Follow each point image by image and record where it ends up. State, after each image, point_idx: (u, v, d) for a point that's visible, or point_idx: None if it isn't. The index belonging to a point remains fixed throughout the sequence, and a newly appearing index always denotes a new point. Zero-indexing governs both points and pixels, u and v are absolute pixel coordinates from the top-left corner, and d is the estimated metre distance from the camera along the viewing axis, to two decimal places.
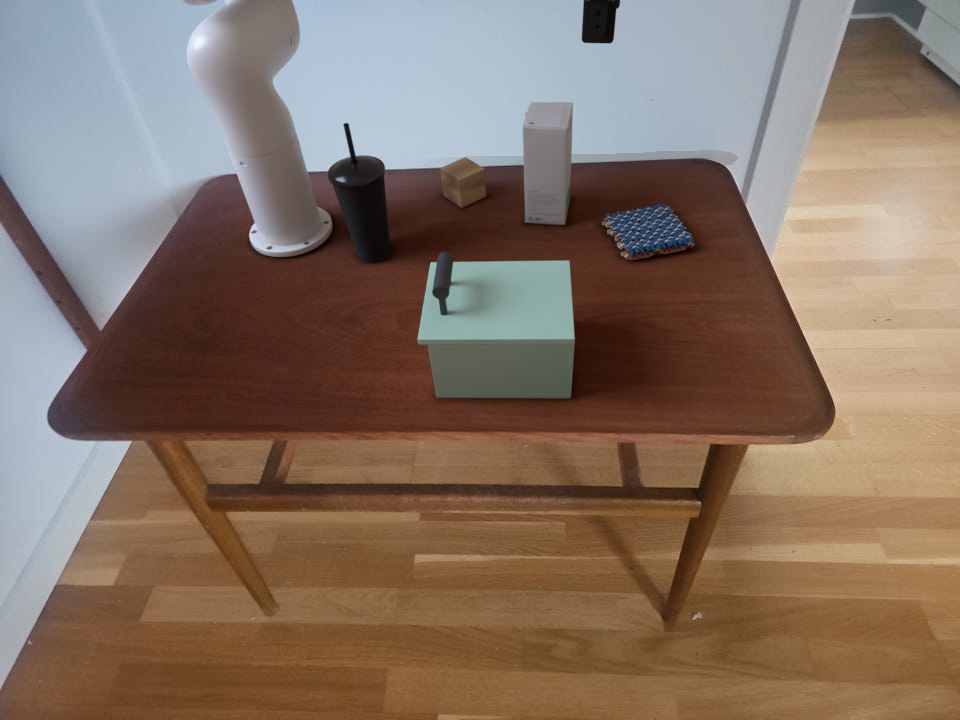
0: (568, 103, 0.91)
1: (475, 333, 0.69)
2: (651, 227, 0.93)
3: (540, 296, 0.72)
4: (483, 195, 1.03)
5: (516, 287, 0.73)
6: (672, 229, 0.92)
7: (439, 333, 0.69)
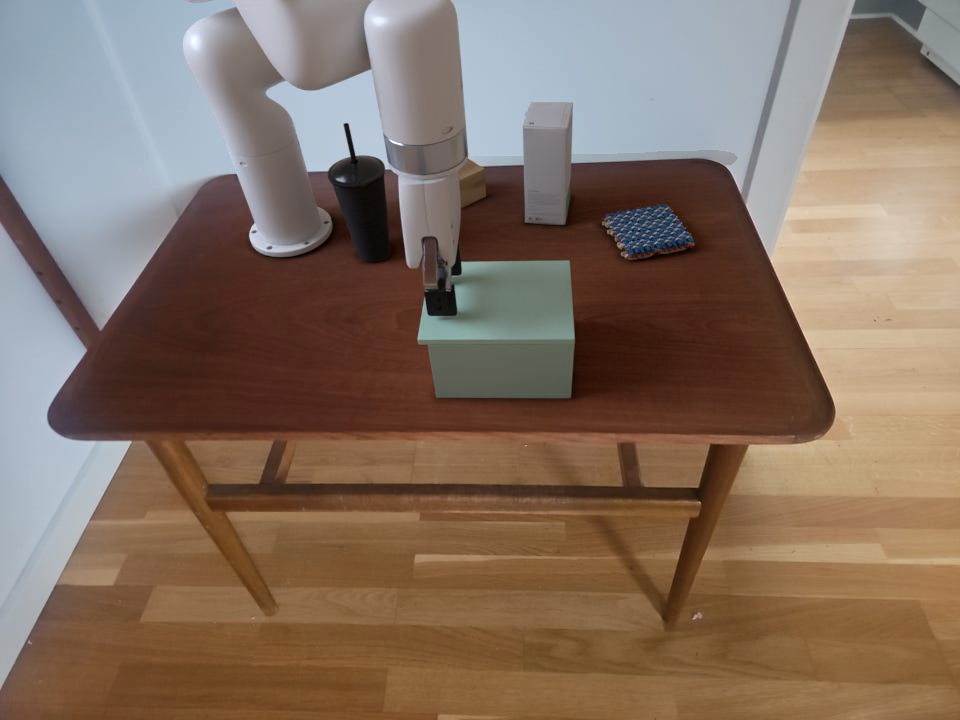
0: (568, 103, 0.91)
1: (475, 333, 0.69)
2: (651, 227, 0.93)
3: (540, 296, 0.72)
4: (483, 195, 1.03)
5: (516, 287, 0.73)
6: (672, 229, 0.92)
7: (439, 333, 0.69)
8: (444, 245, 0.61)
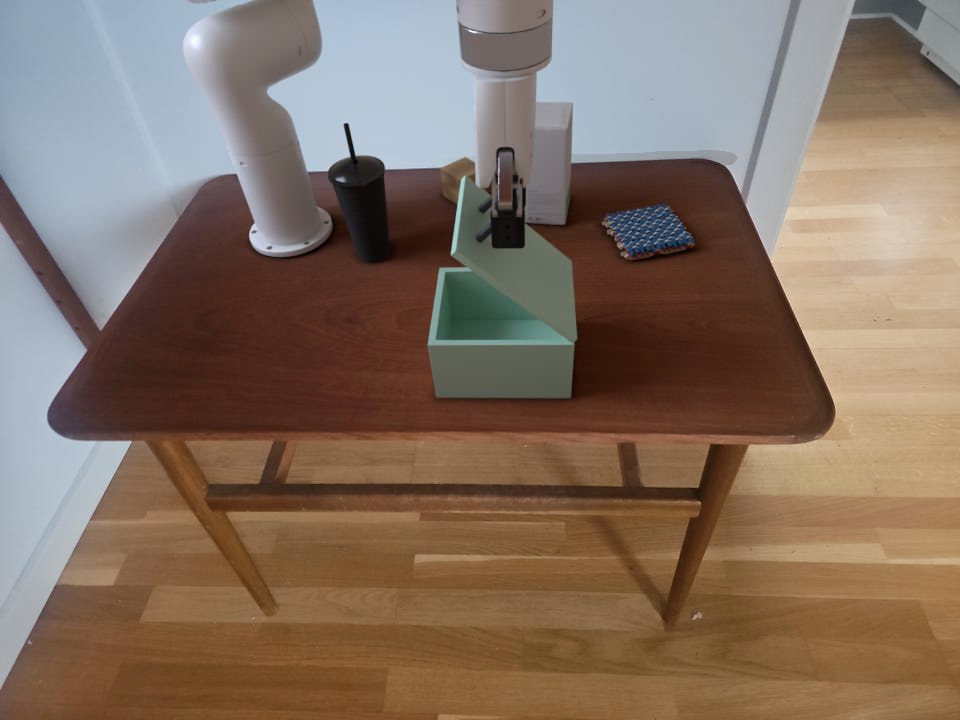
0: (568, 103, 0.91)
1: (504, 280, 0.63)
2: (651, 227, 0.93)
3: (552, 279, 0.70)
4: None
5: (535, 257, 0.70)
6: (672, 229, 0.92)
7: (475, 258, 0.61)
8: (521, 158, 0.54)
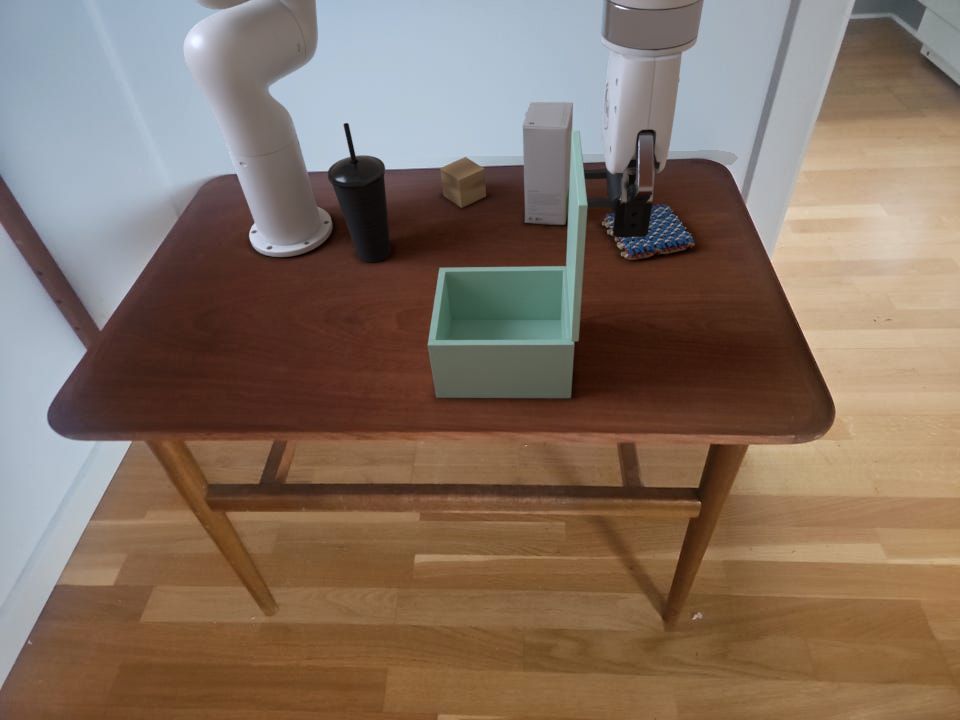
0: (568, 103, 0.91)
1: None
2: (651, 227, 0.93)
3: None
4: (483, 195, 1.03)
5: None
6: (672, 229, 0.92)
7: None
8: (662, 141, 0.53)
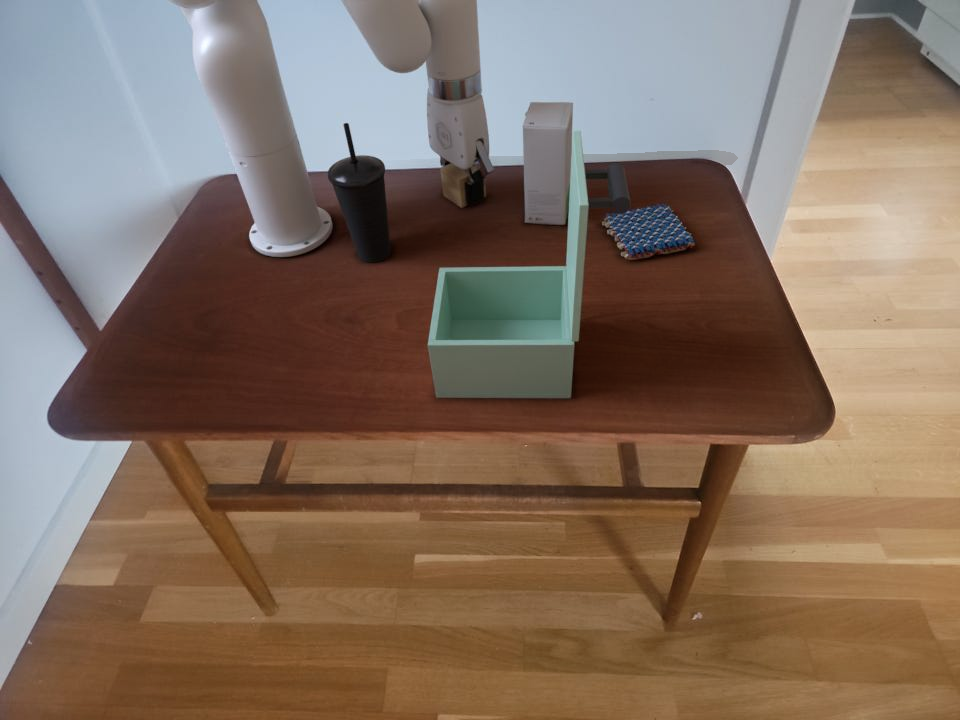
0: (568, 103, 0.91)
1: None
2: (651, 227, 0.93)
3: None
4: None
5: None
6: (672, 229, 0.92)
7: None
8: (486, 142, 0.94)
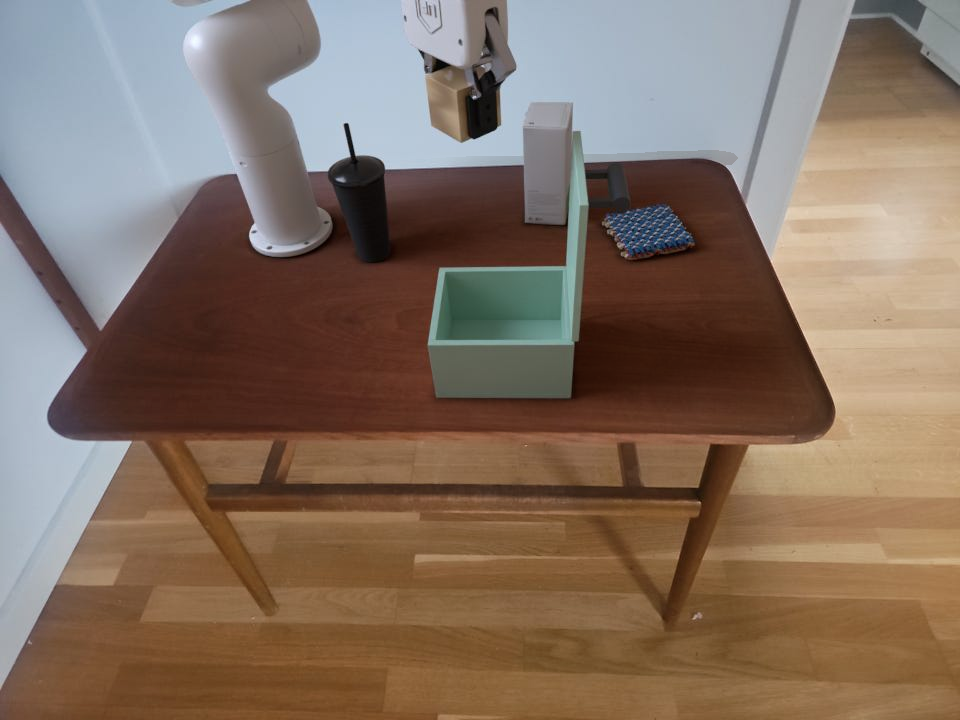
0: (568, 103, 0.91)
1: None
2: (651, 227, 0.93)
3: None
4: None
5: None
6: (672, 229, 0.92)
7: None
8: (504, 18, 0.54)
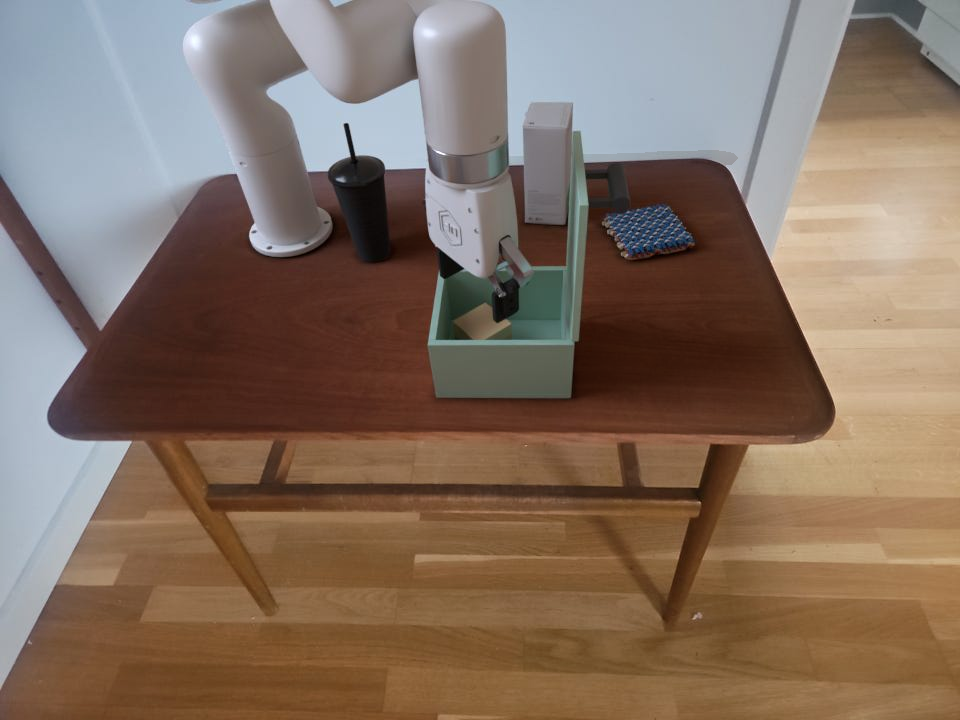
0: (568, 103, 0.91)
1: None
2: (651, 227, 0.93)
3: None
4: None
5: None
6: (672, 229, 0.92)
7: None
8: (515, 240, 0.63)
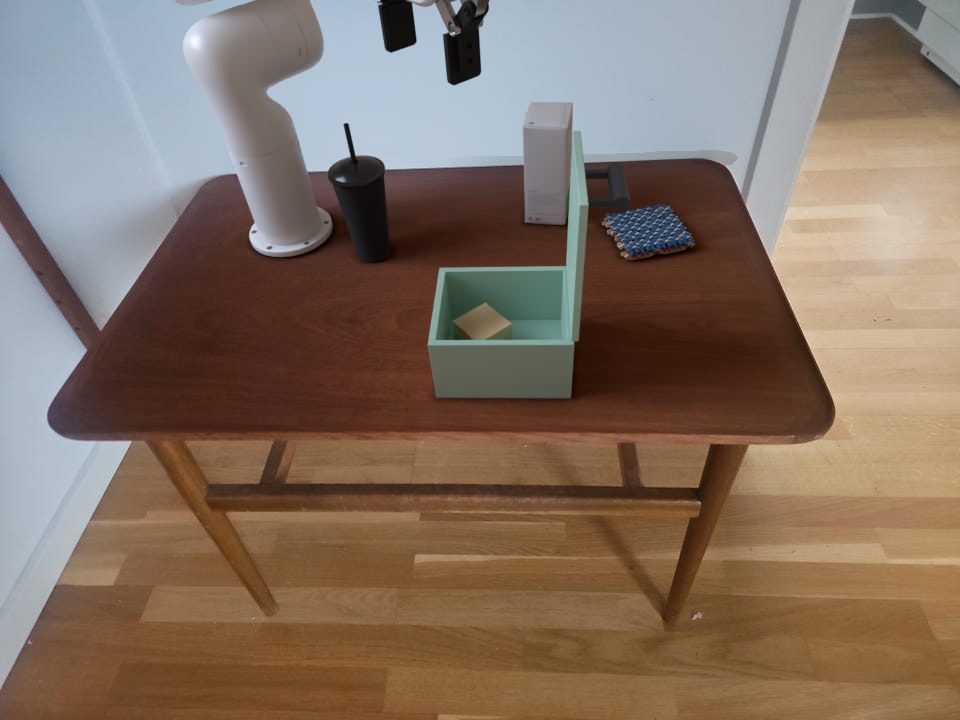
0: (568, 103, 0.91)
1: None
2: (651, 227, 0.93)
3: None
4: None
5: None
6: (672, 229, 0.92)
7: None
8: None
